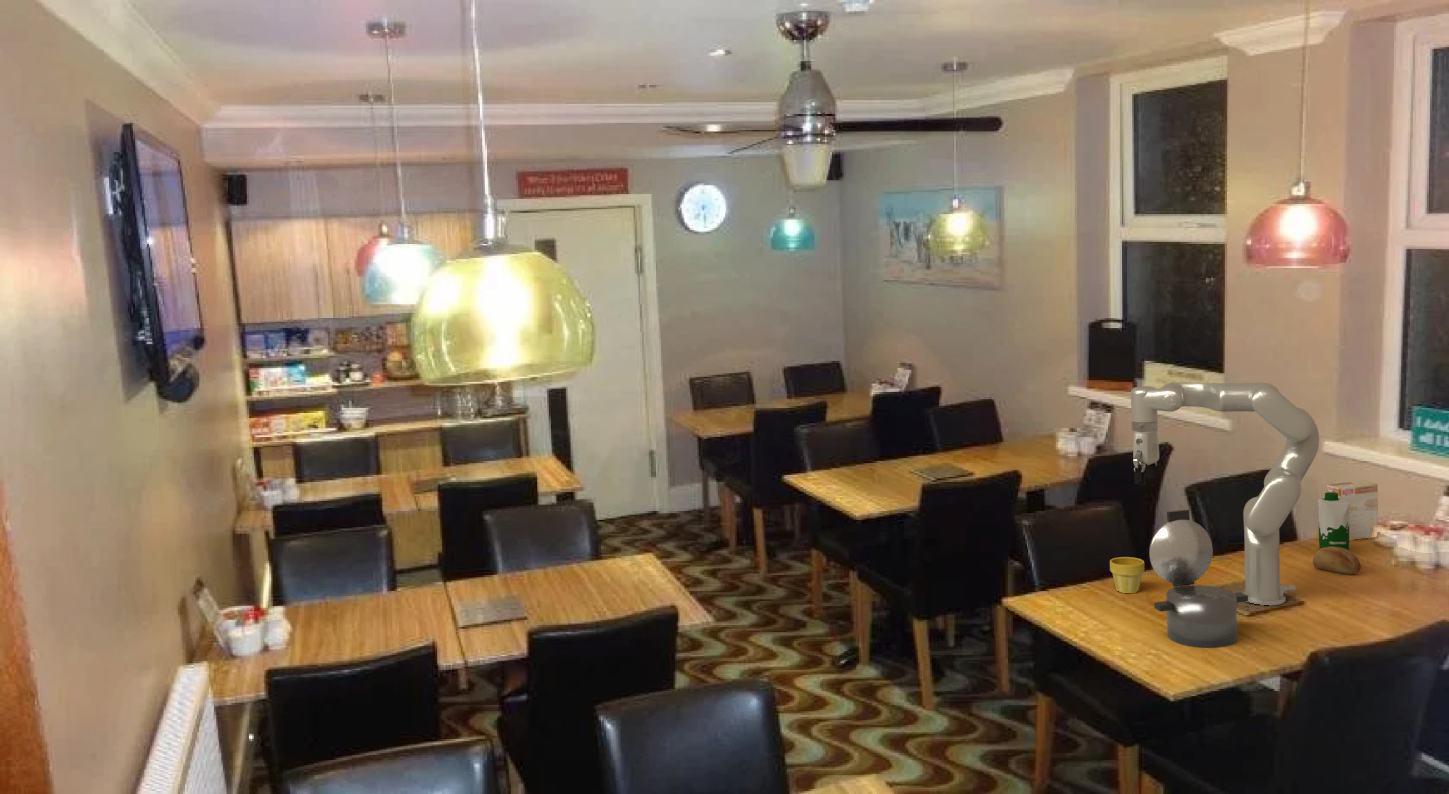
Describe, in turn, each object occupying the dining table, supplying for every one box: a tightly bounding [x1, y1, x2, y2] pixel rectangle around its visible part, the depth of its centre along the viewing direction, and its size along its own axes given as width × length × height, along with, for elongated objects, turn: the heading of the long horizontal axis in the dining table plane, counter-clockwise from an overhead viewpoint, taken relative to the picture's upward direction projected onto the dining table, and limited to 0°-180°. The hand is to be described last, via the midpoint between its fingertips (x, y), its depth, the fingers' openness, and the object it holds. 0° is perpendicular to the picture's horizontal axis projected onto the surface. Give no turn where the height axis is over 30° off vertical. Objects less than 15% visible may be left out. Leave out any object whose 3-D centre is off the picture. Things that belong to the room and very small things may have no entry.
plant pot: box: [1109, 556, 1145, 594], centre depth 360 cm, size 10×10×10 cm
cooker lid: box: [1148, 509, 1214, 588], centre depth 324 cm, size 19×22×3 cm
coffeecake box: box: [1326, 479, 1379, 541], centre depth 400 cm, size 15×7×20 cm, turn 97°
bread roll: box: [1312, 547, 1362, 575], centre depth 364 cm, size 10×15×8 cm, turn 31°
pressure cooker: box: [1153, 584, 1248, 649], centre depth 316 cm, size 26×19×12 cm
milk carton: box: [1317, 492, 1350, 551], centre depth 384 cm, size 9×9×20 cm
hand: (1146, 481), depth 351 cm, fingers open, 9 cm apart
